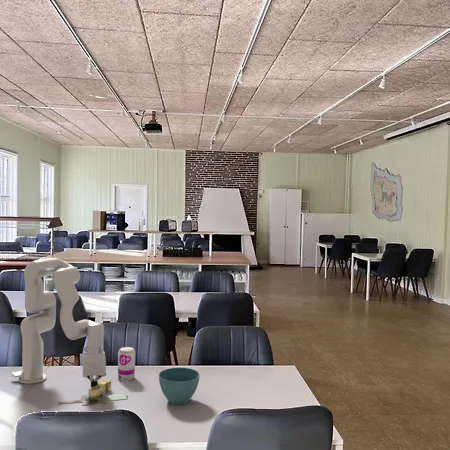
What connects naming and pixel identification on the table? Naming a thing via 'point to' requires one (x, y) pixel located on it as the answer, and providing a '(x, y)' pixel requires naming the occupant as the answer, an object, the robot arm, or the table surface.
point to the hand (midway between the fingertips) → (94, 388)
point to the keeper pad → (117, 397)
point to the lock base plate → (88, 402)
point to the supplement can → (126, 363)
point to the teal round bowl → (178, 384)
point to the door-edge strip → (77, 401)
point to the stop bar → (99, 389)
